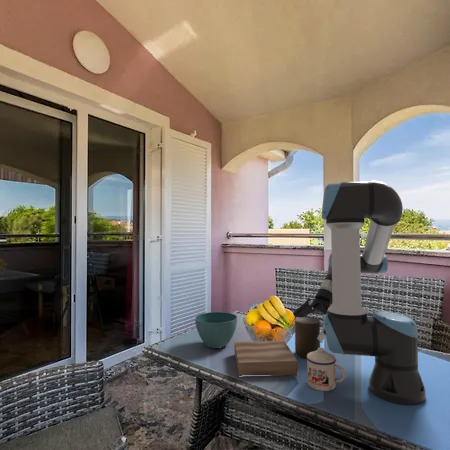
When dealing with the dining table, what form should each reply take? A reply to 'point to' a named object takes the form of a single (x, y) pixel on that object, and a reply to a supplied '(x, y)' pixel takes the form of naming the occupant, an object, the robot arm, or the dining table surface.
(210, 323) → the plant pot
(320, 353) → the teacup with lid
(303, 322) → the pillar candle
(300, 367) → the dining table surface
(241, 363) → the block
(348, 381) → the dining table surface
